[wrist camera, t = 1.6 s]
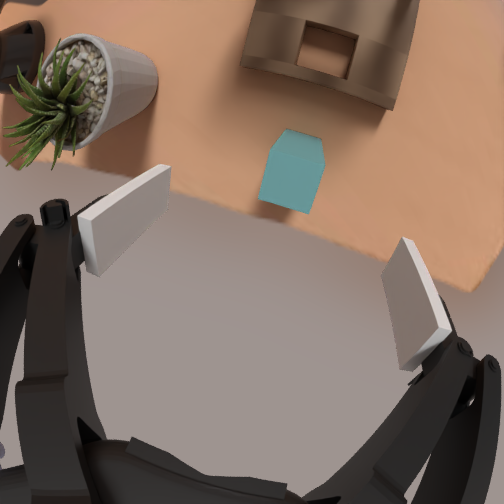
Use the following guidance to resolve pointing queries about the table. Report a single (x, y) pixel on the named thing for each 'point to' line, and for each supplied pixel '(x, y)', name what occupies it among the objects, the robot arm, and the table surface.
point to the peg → (293, 171)
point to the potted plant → (82, 94)
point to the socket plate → (344, 23)
